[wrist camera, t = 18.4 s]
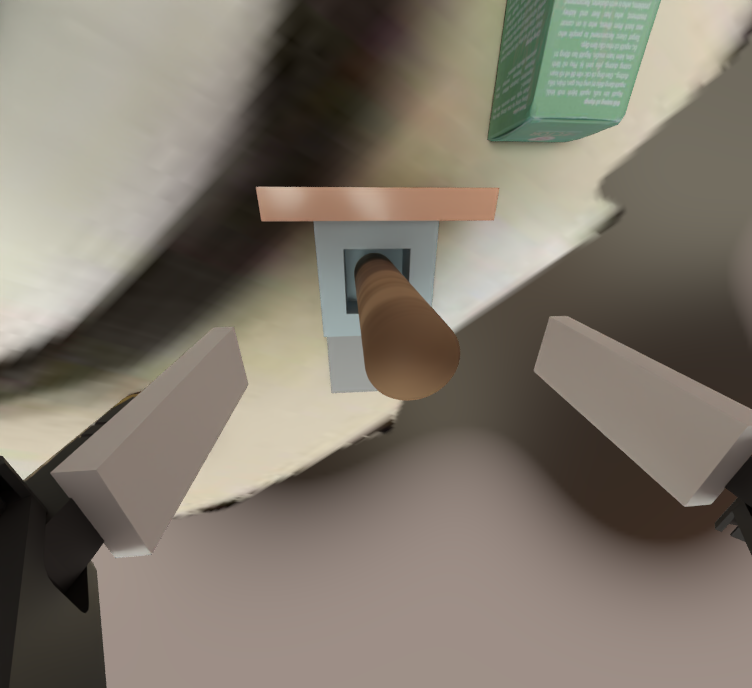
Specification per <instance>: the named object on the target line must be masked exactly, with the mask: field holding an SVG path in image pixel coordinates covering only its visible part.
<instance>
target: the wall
mask: <svg viewBox="0 0 752 688" xmlns="http://www.w3.org/2000/svg"><path fill="white" fill-rule="evenodd" d="M256 191H257V197H258V203H259V209H260V215H261V221H455V220H494V216H495V210H496V205H497V199H498V193H499V188H408V187H256Z"/></svg>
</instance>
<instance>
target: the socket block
mask: <svg viewBox="0 0 752 688" xmlns="http://www.w3.org/2000/svg"><path fill="white" fill-rule="evenodd" d="M313 223H314V233H315V244H316V255H317V266H318V277H319V288H320V299H321V310H322V321H323V332H324V337H340V336H361V330H360V321H359V313H358V304H357V296H356V287H355V279H354V269H355V266H356V264H357V262H358V261H359V259H360V258H361V257H363V256H364V255H366V254H369V253H379V254H382V255H384V256H386V257H387V258H388V259H389V260H390V261H391V262H392V263H393V265H394V266H395V267H396V268H397V269H398V270H399V271H400V272H401V274H402V275H403V276H404V277H405V278H406V279H407V280H408V281H409V283H410V284H411V285H412V286H413V287H414V288H415V289H416V290H417V291H418V293H419V294H420V295H421V296H422V297H423V298H424V299H425V300H426V302H427V303H428V304H429V305H430V306H431V307H432V296H433V285H434V274H435V262H436V251H437V240H438V229H439V221H313Z"/></svg>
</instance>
